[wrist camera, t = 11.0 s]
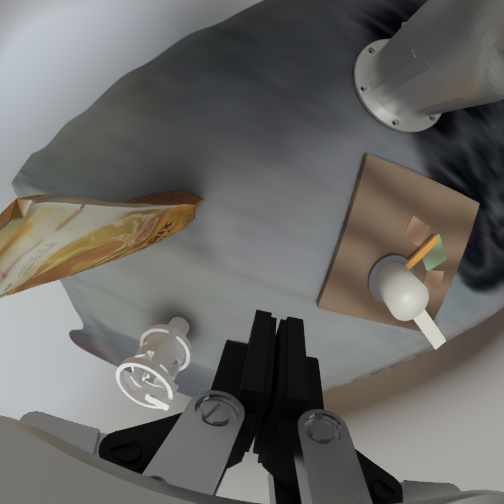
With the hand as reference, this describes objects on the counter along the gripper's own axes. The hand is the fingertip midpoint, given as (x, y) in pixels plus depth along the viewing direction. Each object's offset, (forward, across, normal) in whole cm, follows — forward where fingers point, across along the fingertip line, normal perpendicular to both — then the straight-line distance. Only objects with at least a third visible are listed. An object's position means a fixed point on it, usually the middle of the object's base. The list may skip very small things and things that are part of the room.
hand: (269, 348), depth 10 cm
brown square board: (+26, -17, +1) cm, 31 cm away
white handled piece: (+25, -21, +5) cm, 33 cm away
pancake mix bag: (+27, +17, +4) cm, 32 cm away
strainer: (+27, +10, +19) cm, 34 cm away
